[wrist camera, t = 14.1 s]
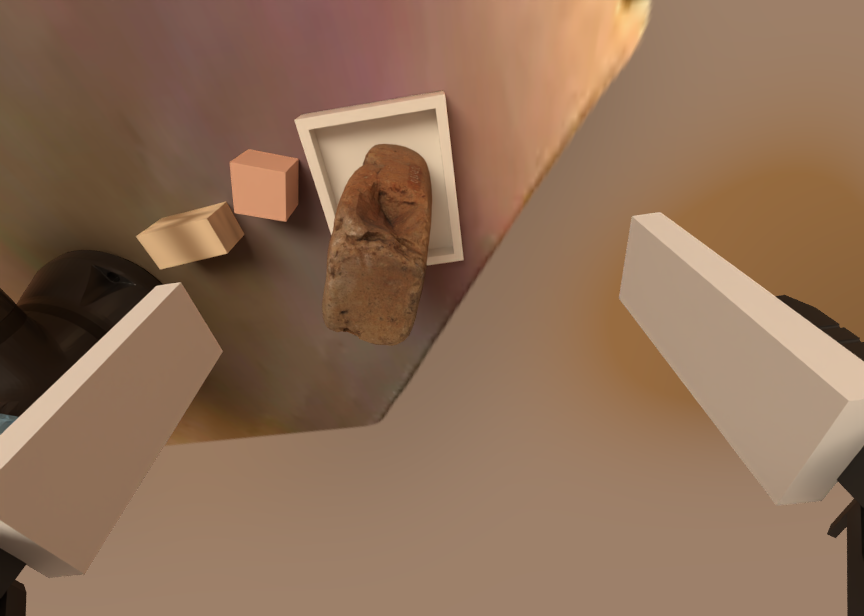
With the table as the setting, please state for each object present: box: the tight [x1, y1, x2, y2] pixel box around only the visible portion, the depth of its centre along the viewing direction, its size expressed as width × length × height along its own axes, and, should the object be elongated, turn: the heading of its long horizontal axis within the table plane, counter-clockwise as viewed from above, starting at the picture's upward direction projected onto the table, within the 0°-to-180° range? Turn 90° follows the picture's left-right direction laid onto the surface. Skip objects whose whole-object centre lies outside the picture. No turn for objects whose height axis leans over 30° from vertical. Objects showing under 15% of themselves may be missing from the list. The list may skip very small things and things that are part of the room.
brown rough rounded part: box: [322, 144, 432, 346], centre depth 34 cm, size 11×8×20 cm
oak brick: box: [136, 202, 244, 269], centre depth 43 cm, size 8×4×5 cm, turn 103°
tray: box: [295, 90, 464, 265], centre depth 42 cm, size 14×17×3 cm
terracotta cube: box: [230, 149, 299, 222], centre depth 40 cm, size 5×5×5 cm
